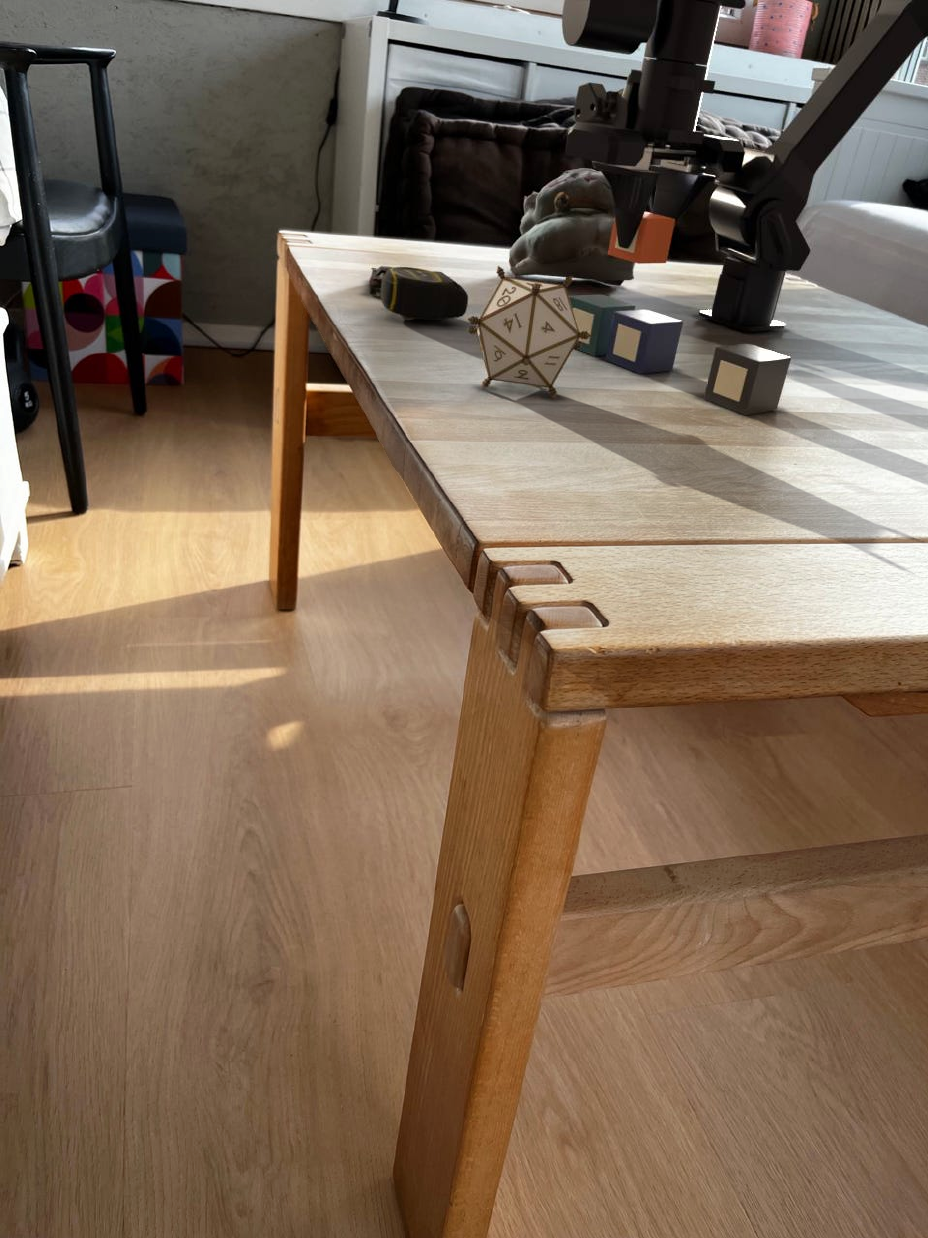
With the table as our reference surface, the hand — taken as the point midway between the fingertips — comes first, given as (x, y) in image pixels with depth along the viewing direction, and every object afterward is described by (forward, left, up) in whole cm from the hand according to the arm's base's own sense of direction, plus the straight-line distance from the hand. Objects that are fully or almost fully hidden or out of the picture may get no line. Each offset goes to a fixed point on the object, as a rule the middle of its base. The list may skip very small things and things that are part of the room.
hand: (639, 247), depth 97 cm
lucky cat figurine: (-6, -15, -7) cm, 18 cm away
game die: (+28, +15, -7) cm, 32 cm away
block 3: (+13, +24, -6) cm, 28 cm away
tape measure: (+22, -4, -7) cm, 23 cm away
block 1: (+13, +8, -6) cm, 17 cm away
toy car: (+19, -13, -7) cm, 24 cm away
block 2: (+13, +13, -6) cm, 20 cm away
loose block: (0, 0, -1) cm, 1 cm away
